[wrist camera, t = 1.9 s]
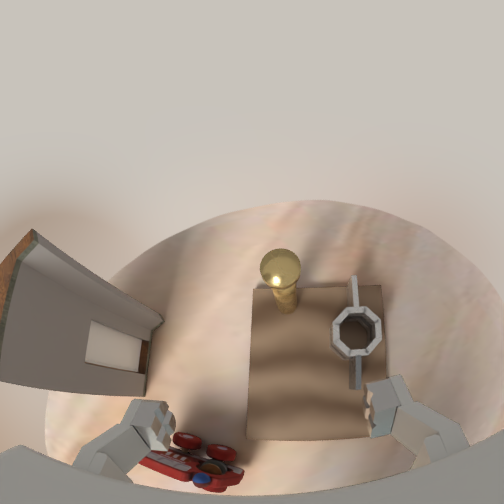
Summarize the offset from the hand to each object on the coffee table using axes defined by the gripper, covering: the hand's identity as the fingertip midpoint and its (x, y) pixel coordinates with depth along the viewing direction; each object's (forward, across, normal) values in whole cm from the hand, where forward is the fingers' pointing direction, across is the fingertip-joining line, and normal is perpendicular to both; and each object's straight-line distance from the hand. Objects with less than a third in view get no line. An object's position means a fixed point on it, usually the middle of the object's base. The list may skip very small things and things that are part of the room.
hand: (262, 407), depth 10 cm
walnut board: (+23, -4, +19) cm, 30 cm away
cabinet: (+23, +26, +18) cm, 40 cm away
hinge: (+25, -9, +16) cm, 31 cm away
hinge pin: (+29, 0, +12) cm, 31 cm away
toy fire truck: (+14, +14, +28) cm, 34 cm away
